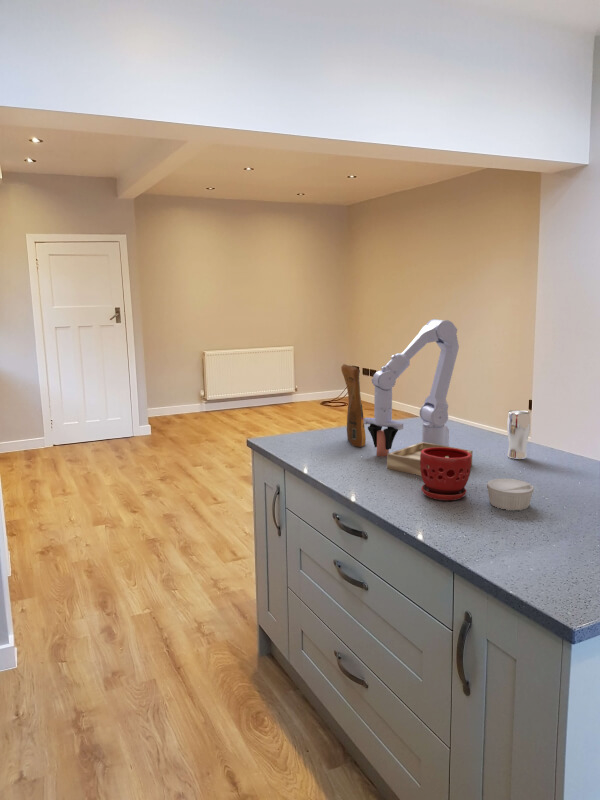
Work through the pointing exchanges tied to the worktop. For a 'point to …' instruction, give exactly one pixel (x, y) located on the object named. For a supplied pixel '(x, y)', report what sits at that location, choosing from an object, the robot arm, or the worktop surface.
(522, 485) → the ramekin
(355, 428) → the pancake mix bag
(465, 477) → the plant pot
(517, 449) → the beer glass
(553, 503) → the worktop surface
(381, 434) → the peg
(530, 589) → the worktop surface
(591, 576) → the worktop surface
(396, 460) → the box
